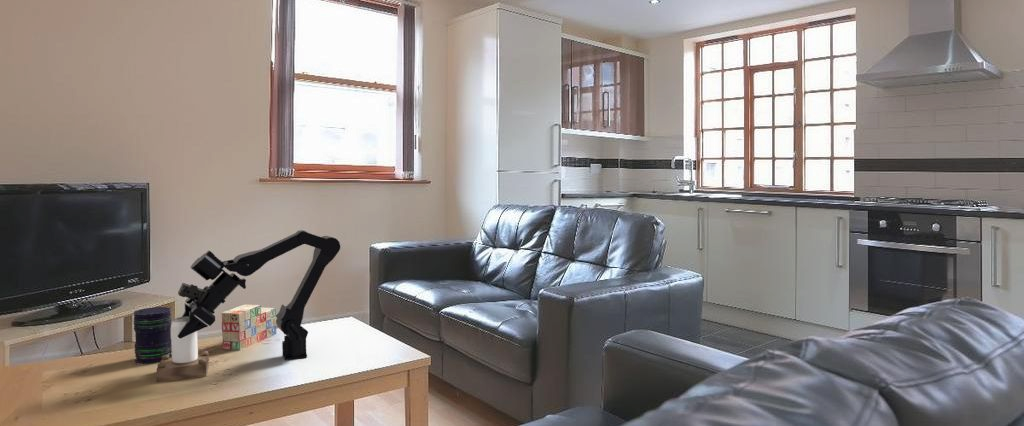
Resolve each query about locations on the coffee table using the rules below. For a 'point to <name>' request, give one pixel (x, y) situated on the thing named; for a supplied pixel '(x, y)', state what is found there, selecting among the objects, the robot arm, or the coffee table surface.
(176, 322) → the can
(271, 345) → the coffee table surface
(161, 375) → the base brick
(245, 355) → the coffee table surface
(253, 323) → the stack of blocks
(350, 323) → the coffee table surface
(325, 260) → the robot arm
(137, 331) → the storage jar
